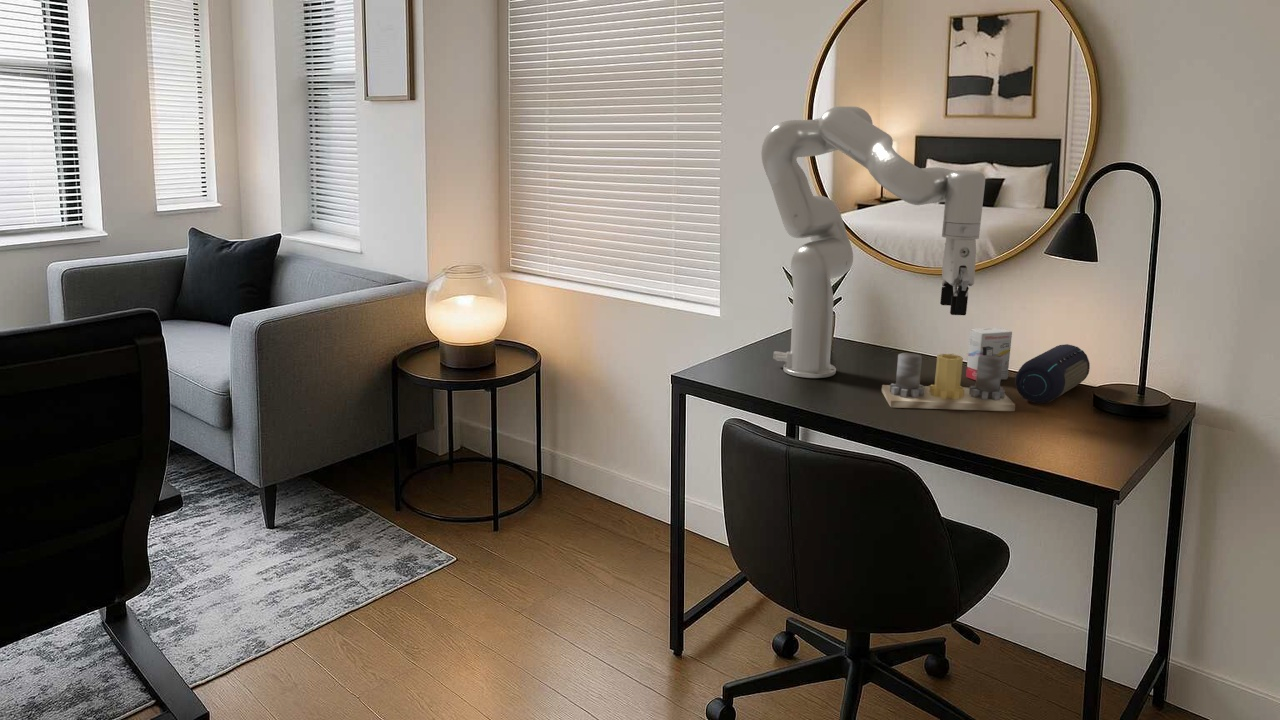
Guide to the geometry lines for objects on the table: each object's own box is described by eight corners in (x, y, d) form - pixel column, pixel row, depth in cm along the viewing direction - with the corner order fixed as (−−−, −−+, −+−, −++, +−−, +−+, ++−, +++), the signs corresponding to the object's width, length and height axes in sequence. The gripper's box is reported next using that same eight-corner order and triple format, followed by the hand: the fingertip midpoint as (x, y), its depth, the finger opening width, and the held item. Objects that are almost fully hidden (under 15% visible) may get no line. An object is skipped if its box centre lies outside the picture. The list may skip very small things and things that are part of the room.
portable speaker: (1054, 411, 208) (1060, 366, 205) (1008, 401, 214) (1012, 358, 211) (1092, 386, 226) (1097, 345, 223) (1048, 378, 232) (1053, 338, 230)
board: (890, 407, 209) (894, 362, 206) (881, 391, 220) (884, 348, 218) (1014, 411, 207) (1019, 366, 204) (998, 394, 219) (1003, 351, 216)
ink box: (977, 382, 228) (982, 333, 225) (964, 376, 233) (969, 328, 230) (1008, 379, 231) (1014, 331, 227) (995, 374, 235) (1000, 326, 232)
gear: (933, 398, 210) (936, 360, 208) (926, 389, 217) (929, 352, 215) (966, 399, 210) (970, 361, 208) (959, 390, 217) (962, 353, 214)
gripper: (989, 236, 196) (980, 319, 200) (969, 225, 213) (961, 302, 217) (951, 235, 197) (943, 318, 201) (934, 224, 213) (927, 301, 218)
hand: (952, 309), depth 209 cm, fingers open, 9 cm apart
